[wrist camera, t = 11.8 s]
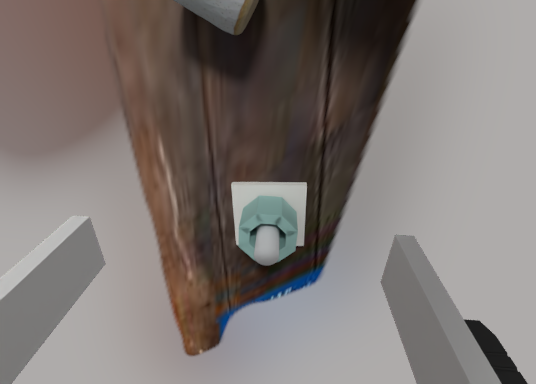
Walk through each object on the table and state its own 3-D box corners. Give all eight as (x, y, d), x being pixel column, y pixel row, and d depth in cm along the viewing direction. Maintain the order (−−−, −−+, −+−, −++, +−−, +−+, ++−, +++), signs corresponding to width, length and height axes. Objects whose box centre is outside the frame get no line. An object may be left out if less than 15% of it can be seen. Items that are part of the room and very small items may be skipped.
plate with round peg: (232, 181, 43) (219, 218, 34) (306, 182, 43) (312, 219, 34) (237, 241, 48) (226, 286, 39) (303, 242, 48) (307, 288, 39)
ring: (271, 186, 41) (270, 203, 37) (306, 221, 44) (308, 242, 40) (232, 216, 44) (226, 236, 40) (267, 248, 47) (265, 270, 42)
